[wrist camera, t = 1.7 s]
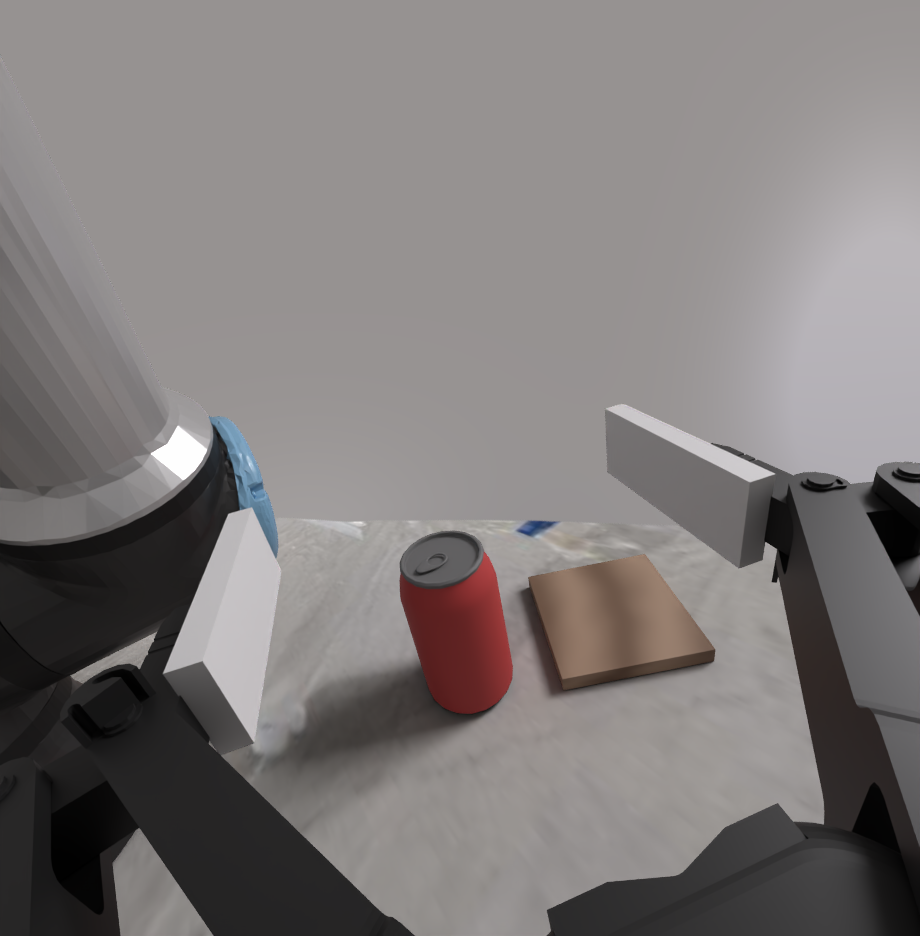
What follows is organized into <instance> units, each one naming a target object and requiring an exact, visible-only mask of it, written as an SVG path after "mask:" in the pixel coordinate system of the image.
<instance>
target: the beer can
mask: <svg viewBox="0 0 920 936" xmlns="http://www.w3.org/2000/svg"><path fill="white" fill-rule="evenodd" d="M400 572H401V575H400V597H401V602H402V605H403V608H404V611H405V615H406V618H407V621H408V624H409V627H410V631H411V634H412V637H413V640H414V643H415V646H416V650H417V653H418V656H419V659H420V662H421V666H422V669H423V672H424V675H425V678H426V681H427V685H428V688H429V690H430V692H431V694H432V696H433V698H434V700H435V701H436V702H438V703H439V704H440V705H441V706H442V707H444V708H445V709H447V710H450V711H453V712H456V713H464V714H473V713H476V712H480V711H483V710H486V709H488V708H489V707H491V706H493V705H494V704H496V703H497V702H498V701H499V700H500V699H501V698H502V697H503V696H504V694H505V693H506V692H507V690H508V688H509V685H510V683H511V680H512V672H513V665H512V660H511V654H510V649H509V643H508V638H507V632H506V627H505V621H504V616H503V610H502V604H501V599H500V593H499V588H498V582H497V577H496V573H495V570H494V568H493V565H492V563H491V561H490V559H489V557H488V556H487V554H486V553H485V552H484V549H483V547H482V544H481V542H480V541H479V540H478V539H477V538H476V537H475V536H472V535H470V534H468V533H465V532H460V531H441V532H437V533H433V534H430V535H427V536H425V537H423V538H421V539H419V540H418V541H416V542H415V543H413V544H412V545H411V546H410V547H409V548H408V549H407V550H406V551H405V553H404V554H403V556H402V558H401V561H400Z"/></svg>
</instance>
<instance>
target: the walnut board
mask: <svg viewBox="0 0 920 936" xmlns="http://www.w3.org/2000/svg"><path fill="white" fill-rule="evenodd" d="M528 579H529V586H530V590H531V593H532V596H533V599H534V602H535V605H536V608H537V611H538V614H539V617H540V620H541V623H542V626H543V629H544V632H545V635H546V638H547V641H548V644H549V647H550V651H551V654H552V657H553V660H554V663H555V666H556V669H557V672H558V675H559V678H560V681H561V684H562V687H563V690H568V689H574V688H579V687H584V686H589V685H594V684H599V683H604V682H609V681H614V680H620V679H625V678H630V677H635V676H640V675H645V674H650V673H655V672H661V671H666V670H671V669H676V668H681V667H686V666H691V665H696V664H702V663H707V662H712V661H714V657H715V648H714V647H713V646H712V644H711V643H710V642H709V640H708V639H707V637H706V636H705V635H704V633H703V632H702V631H701V629H700V628H699V627H698V625H697V624H696V623H695V621H694V620H693V619H692V617H691V616H690V614H689V613H688V612H687V610H686V609H685V608H684V606H683V605H682V604H681V602H680V601H679V600H678V598H677V597H676V596H675V594H674V593H673V591H672V590H671V589H670V587H669V586H668V585H667V583H666V582H665V581H664V579H663V578H662V577H661V575H660V574H659V573H658V571H657V570H656V569H655V567H654V566H653V564H652V563H651V562H650V560H649V559H648V558H647V556H646V555H645V554H643V555H638V556H633V557H628V558H623V559H618V560H613V561H608V562H602V563H597V564H592V565H587V566H582V567H577V568H572V569H567V570H562V571H557V572H552V573H546V574H541V575H536V576H531V577H528Z"/></svg>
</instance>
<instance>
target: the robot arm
mask: <svg viewBox="0 0 920 936" xmlns="http://www.w3.org/2000/svg"><path fill="white" fill-rule="evenodd" d="M605 418H606V446H607V472H608V473H610V474H611V475H612V476H614V477H615V478H616V479H618V480H619V481H620V482H622V483H623V484H624V485H626V486H627V487H628V488H630V489H631V490H633V491H634V492H635V493H637V494H638V495H640V496H641V497H642V498H643V499H645V500H646V501H648V502H649V503H650V504H652V505H653V506H654V507H656V508H657V509H659V510H660V511H661V512H663V513H664V514H666V515H667V516H668V517H669V518H671V519H673V520H674V521H675V522H676V523H678V524H679V525H680V526H682V527H683V528H684V529H686V530H687V531H689V532H690V533H691V534H693V535H694V536H695V537H697V538H698V539H699V540H701V541H702V542H704V543H705V544H706V545H708V546H709V547H710V548H712V549H713V550H715V551H716V552H717V553H719V554H720V555H721V556H723V557H724V558H725V559H727V560H728V561H730V562H731V563H732V564H734V565H735V566H736V567H738V568H742V567H745V566H747V565H750V564H753V563H756V562H758V561H761V560H763V553H764V547H765V542H767V543H768V544H770V545H772V546H773V547H775V548H776V549H777V554H776V560H775V566H774V572H773V578H772V582H775V583H777V579H778V577H779V581H780V586H781V590H782V595H783V600H784V605H785V610H786V615H787V620H788V625H789V630H790V635H791V640H792V645H793V650H794V655H795V660H796V665H797V669H798V674H799V679H800V684H801V689H802V694H803V699H804V704H805V709H806V714H807V719H808V724H809V729H810V734H811V739H812V744H813V749H814V753H815V758H816V763H817V768H818V773H819V778H820V783H821V788H822V793H823V799H824V811H825V812H824V825H823V824H817V823H809V822H793V821H792V820H791V819H790V818H789V816H788V815H787V814H786V813H785V812H784V810H783V809H782V808H781V807H780V806H779V804H778V803H777V804H775V805H773V806H770V807H768V808H766V809H764V810H762V811H760V812H758V813H755V814H753V815H751V816H749V817H747V818H745V819H742V820H740V821H738V822H736V823H734V824H732V825H729V826H727V827H725V828H724V829H723V830H722V831H721V832H720V833H719V834H718V836H717V837H716V838H715V839H714V840H713V841H712V842H711V843H710V844H709V845H708V846H707V847H706V848H705V849H704V850H703V852H702V853H701V854H700V855H699V856H698V857H697V858H696V859H695V860H694V861H693V862H692V863H691V864H690V865H689V867H688V868H687V869H686V870H685V871H684V872H683V873H681V874H679V875H677V876H671V877H660V878H649V879H637V880H626V881H615V882H607V883H604V884H602V885H600V886H598V887H596V888H594V889H591V890H589V891H587V892H585V893H583V894H581V895H579V896H576V897H574V898H572V899H570V900H568V901H566V902H563V903H561V904H559V905H557V906H555V907H553V908H551V909H548V910H547V913H548V918H549V923H550V927H551V932H550V933H549V934H548V935H547V936H920V463H912V462H893V463H886V464H883V465H881V466H879V467H878V468H877V471H876V474H875V478H874V482H866V483H857V484H850V483H849V482H848V481H846V480H844V479H842V478H840V477H838V476H834V475H830V474H826V473H817V472H806V473H800V474H796V475H794V476H793V475H791V474H789V473H787V472H784V471H782V470H780V469H778V468H775V467H773V466H771V465H769V464H767V463H764V462H762V461H760V460H755V458H753V457H751V456H749V455H744V453H742V452H739V451H737V450H735V449H733V448H731V447H727V446H722V445H718V444H713V443H711V444H710V443H707V442H705V441H703V440H701V439H699V438H697V437H694V436H692V435H690V434H688V433H685V432H684V431H681V430H679V429H677V428H675V427H673V426H671V425H668V424H666V423H664V422H662V421H660V420H657V419H655V418H653V417H651V416H649V415H646V414H644V413H642V412H640V411H638V410H636V409H634V408H631V407H629V406H627V405H625V404H620V405H616V406H613V407H609V408H606V409H605ZM277 553H278V533H277V527H276V522H275V518H274V513H273V510H272V506H271V502H270V500H269V497H268V495H267V493H266V491H265V490H264V489H263V481H262V477H261V474H260V470H259V468H258V465H257V463H256V461H255V459H254V456H253V454H252V452H251V450H250V448H249V446H248V444H247V442H246V440H245V439H244V437H243V435H242V434H241V432H240V431H239V429H238V428H237V427H236V425H235V424H234V423H233V422H232V421H231V420H229V419H228V418H226V417H220V416H218V417H210V416H209V417H208V415H207V413H206V412H205V411H204V409H203V408H202V407H201V406H200V405H199V404H198V403H197V402H196V401H194V400H193V399H191V398H190V397H188V396H186V395H184V394H182V393H180V392H177V391H174V390H171V389H168V388H163V387H161V384H160V383H159V380H158V378H157V376H156V375H155V372H154V370H153V368H152V366H151V364H150V362H149V360H148V358H147V356H146V354H145V351H144V349H143V347H142V345H141V343H140V341H139V339H138V337H137V335H136V333H135V331H134V329H133V327H132V325H131V323H130V321H129V319H128V316H127V314H126V312H125V310H124V308H123V306H122V304H121V302H120V300H119V298H118V296H117V294H116V292H115V290H114V288H113V286H112V283H111V281H110V279H109V277H108V275H107V273H106V271H105V269H104V267H103V265H102V263H101V261H100V259H99V257H98V255H97V253H96V250H95V249H94V246H93V244H92V242H91V240H90V238H89V236H88V234H87V232H86V230H85V228H84V226H83V224H82V222H81V220H80V218H79V216H78V213H77V211H76V210H75V207H74V205H73V203H72V201H71V199H70V197H69V195H68V193H67V191H66V189H65V187H64V185H63V182H62V181H61V178H60V177H59V174H58V172H57V170H56V168H55V166H54V164H53V162H52V160H51V158H50V156H49V154H48V152H47V150H46V148H45V146H44V144H43V141H42V139H41V137H40V135H39V133H38V131H37V129H36V127H35V125H34V123H33V121H32V119H31V117H30V115H29V113H28V110H27V108H26V106H25V104H24V102H23V100H22V98H21V96H20V94H19V92H18V90H17V88H16V86H15V84H14V82H13V79H12V78H11V75H10V73H9V72H8V69H7V67H6V65H5V63H4V61H3V59H2V57H1V55H0V936H120V928H119V919H118V910H117V901H116V892H115V883H114V874H113V865H112V862H113V861H114V860H115V858H116V857H117V856H118V855H119V853H120V852H121V851H122V849H123V848H124V846H125V845H126V844H127V842H128V841H129V839H130V838H131V836H132V835H133V833H134V832H135V830H136V829H138V828H140V829H141V831H142V832H143V833H144V835H145V836H146V838H147V839H148V841H149V842H150V844H151V845H152V847H153V848H154V849H155V851H156V852H157V854H158V855H159V857H160V858H161V860H162V861H163V863H164V864H165V866H166V867H167V868H168V870H169V871H170V873H171V874H172V876H173V877H174V879H175V880H176V882H177V883H178V884H179V886H180V887H181V889H182V890H183V892H184V893H185V895H186V896H187V898H188V899H189V900H190V902H191V903H192V905H193V906H194V908H195V909H196V911H197V912H198V914H199V915H200V916H201V918H202V919H203V921H204V922H205V924H206V925H207V927H208V928H209V930H210V931H211V932H212V934H213V935H214V936H414V935H413V934H412V933H411V932H410V931H409V930H408V929H407V928H406V927H405V926H403V925H402V924H401V923H400V922H398V921H397V920H396V919H394V918H393V917H388V916H386V915H384V914H383V913H382V912H381V911H380V910H378V909H377V908H376V907H375V906H374V905H373V904H372V903H371V902H370V901H369V900H368V899H367V898H366V897H365V896H364V895H363V894H362V893H361V892H360V891H359V890H358V889H357V888H356V887H355V886H354V885H353V884H352V883H351V882H350V881H349V880H348V879H347V878H345V877H344V876H343V875H342V874H341V873H340V872H339V871H338V870H337V869H336V868H335V867H334V866H333V865H332V864H331V863H330V862H329V861H328V860H327V859H326V858H325V857H324V856H323V855H322V854H321V853H320V852H319V851H318V850H317V849H316V848H315V847H314V846H313V845H312V844H311V843H310V842H309V841H308V840H307V839H305V838H304V837H303V836H302V835H301V834H300V833H299V832H298V831H297V830H296V829H295V828H294V827H293V826H292V825H291V824H290V823H289V822H288V821H287V820H286V819H285V818H284V817H283V816H282V815H281V814H280V813H279V812H278V811H277V810H276V809H275V808H274V807H273V806H272V805H271V804H270V803H269V802H268V801H267V800H265V799H264V798H263V797H262V796H261V795H260V794H259V793H258V792H257V791H256V790H255V789H254V788H253V787H252V786H251V785H250V784H249V783H248V782H247V781H246V780H245V779H244V778H243V777H242V776H241V775H240V774H239V773H238V772H237V771H236V770H235V769H234V768H233V767H232V766H231V765H230V764H229V763H228V762H227V761H226V760H224V759H223V758H222V757H221V756H220V755H223V754H225V753H228V752H231V751H234V750H236V749H239V748H242V747H245V746H248V745H250V744H253V743H254V742H255V735H256V729H257V723H258V716H259V710H260V704H261V697H262V691H263V685H264V678H265V672H266V666H267V659H268V653H269V647H270V640H271V634H272V627H273V621H274V615H275V608H276V602H277V596H278V589H279V583H280V577H281V569H280V567H279V565H278V563H277V561H276V557H277ZM157 631H158V632H157ZM155 632H157V634H156V636H155V638H154V642H153V643H152V645H151V647H150V649H149V651H148V655H147V656H146V657H145V659H144V662H143V664H142V666H141V668H140V670H139V669H138V667H137V666H134V665H132V664H123V665H117V666H114V667H112V668H109V669H106V670H104V671H102V672H101V673H99V674H97V675H95V676H94V677H92V678H90V679H89V680H88V681H86V682H85V683H84V684H83V683H80V682H78V681H76V680H74V679H73V678H72V677H71V676H70V675H72V674H74V673H76V672H77V671H79V670H81V669H83V668H85V667H87V666H89V665H91V664H93V663H95V662H97V661H99V660H101V659H103V658H105V657H107V656H109V655H111V654H113V653H115V652H117V651H119V650H121V649H123V648H125V647H127V646H129V645H131V644H133V643H135V642H137V641H139V640H141V639H143V638H145V637H147V636H149V635H151V634H153V633H155ZM209 740H210V742H211V743H212V745H213V746H214V748H215V749H216V750H217V752H218V753H219V754H218V753H217V752H216V751H215V750H214V749H213V748H212V747H211V746H210V745H209V744H208V743H209Z"/></svg>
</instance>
